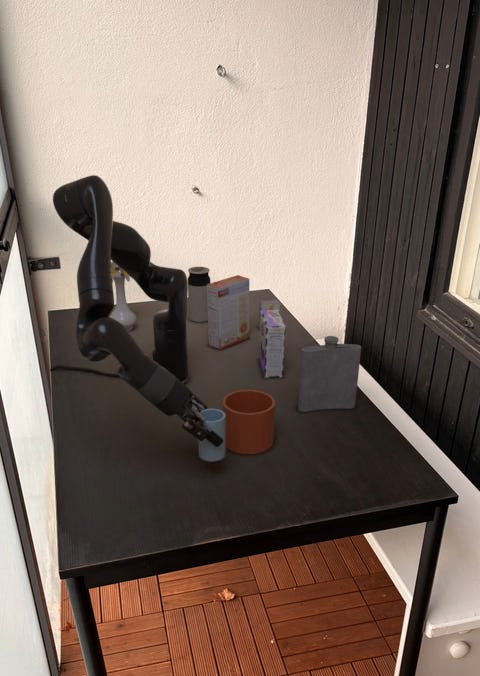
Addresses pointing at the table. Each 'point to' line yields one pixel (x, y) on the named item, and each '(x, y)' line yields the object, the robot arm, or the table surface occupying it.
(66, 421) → the table surface
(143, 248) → the robot arm
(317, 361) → the hip flask
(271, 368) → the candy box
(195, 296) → the travel mug
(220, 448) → the enamel cup
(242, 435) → the flower pot
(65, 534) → the table surface
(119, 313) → the flower vase
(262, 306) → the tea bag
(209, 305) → the cracker box
